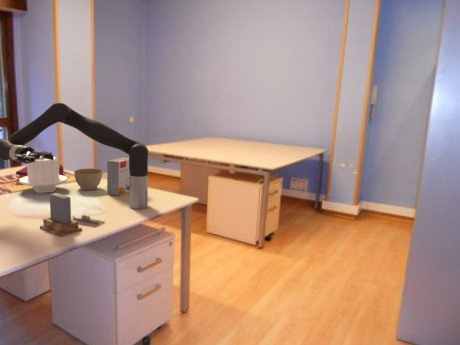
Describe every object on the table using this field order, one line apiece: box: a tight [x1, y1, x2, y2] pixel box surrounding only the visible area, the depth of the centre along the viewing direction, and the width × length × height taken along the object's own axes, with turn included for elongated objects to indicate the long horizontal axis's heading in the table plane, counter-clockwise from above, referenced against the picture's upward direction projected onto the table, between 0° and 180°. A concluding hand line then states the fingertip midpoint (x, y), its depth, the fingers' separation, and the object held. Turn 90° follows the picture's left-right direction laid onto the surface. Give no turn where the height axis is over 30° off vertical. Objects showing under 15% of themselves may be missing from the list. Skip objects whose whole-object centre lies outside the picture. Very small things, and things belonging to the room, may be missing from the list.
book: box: [15, 164, 64, 181], centre depth 252 cm, size 21×28×8 cm
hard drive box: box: [106, 156, 130, 197], centre depth 228 cm, size 16×8×20 cm, turn 161°
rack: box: [39, 216, 83, 238], centre depth 167 cm, size 15×10×4 cm, turn 57°
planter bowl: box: [73, 167, 104, 191], centre depth 233 cm, size 16×16×11 cm
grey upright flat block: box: [49, 192, 72, 225], centre depth 165 cm, size 10×3×14 cm, turn 57°
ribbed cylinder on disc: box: [18, 156, 68, 194], centre depth 223 cm, size 25×25×19 cm
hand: (43, 158), depth 167 cm, fingers open, 8 cm apart
